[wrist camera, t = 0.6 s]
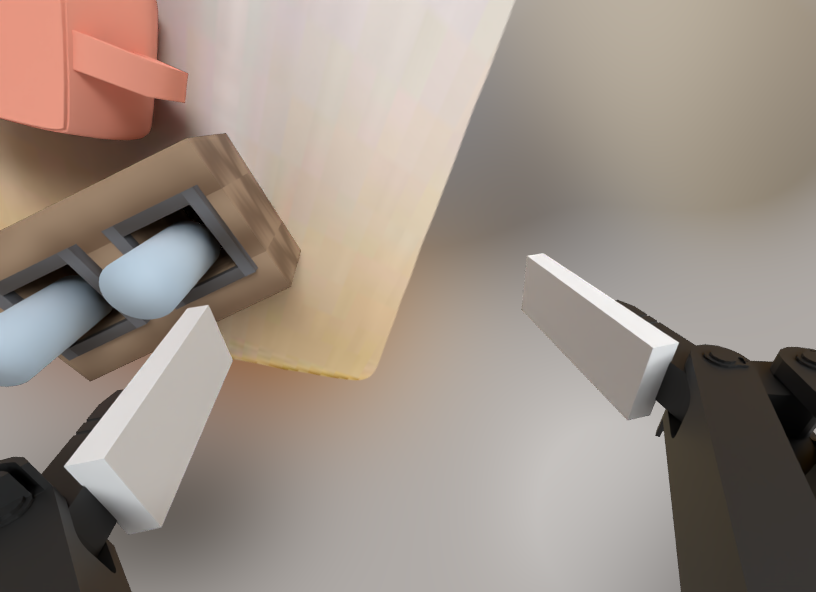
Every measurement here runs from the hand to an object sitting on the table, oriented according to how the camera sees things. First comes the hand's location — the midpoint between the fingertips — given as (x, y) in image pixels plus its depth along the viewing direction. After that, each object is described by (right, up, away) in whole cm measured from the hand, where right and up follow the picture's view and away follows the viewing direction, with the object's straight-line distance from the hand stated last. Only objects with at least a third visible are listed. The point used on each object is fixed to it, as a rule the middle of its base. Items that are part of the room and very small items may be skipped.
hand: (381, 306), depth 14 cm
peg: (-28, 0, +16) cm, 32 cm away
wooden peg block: (-25, +7, +23) cm, 35 cm away
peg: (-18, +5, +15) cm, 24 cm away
